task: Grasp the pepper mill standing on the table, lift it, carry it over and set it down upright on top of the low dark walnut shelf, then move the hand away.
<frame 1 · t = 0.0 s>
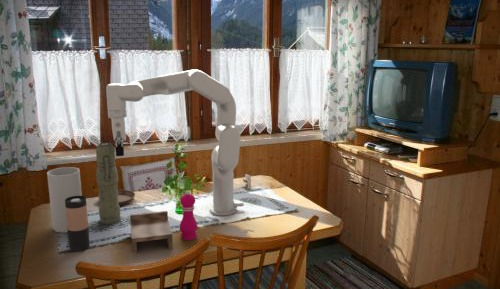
hand: (119, 153, 191), 31 cm above the table, tool pointing down, fingers open, 9 cm apart
walnut shelf: (151, 241, 178), on the table
architectural model: (246, 188, 244), on the table
pepper mill: (188, 237, 183), on the table
travel mug: (79, 248, 173), on the table
plant saucer: (117, 201, 224), on the table
stone totem statue: (110, 220, 199), on the table
cylinder vase: (68, 227, 192), on the table
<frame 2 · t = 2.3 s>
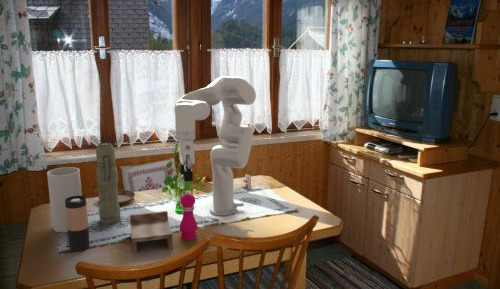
hand: (186, 177, 176), 26 cm above the table, tool pointing down, fingers open, 9 cm apart
nothing on the table moved.
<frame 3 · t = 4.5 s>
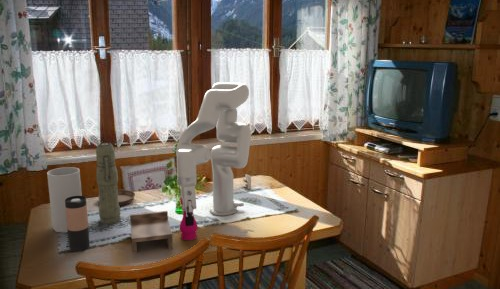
hand: (188, 221, 181), 7 cm above the table, tool pointing down, fingers closed on pepper mill, 5 cm apart
pepper mill: (188, 237, 183), on the table, touching gripper
everything else where it was.
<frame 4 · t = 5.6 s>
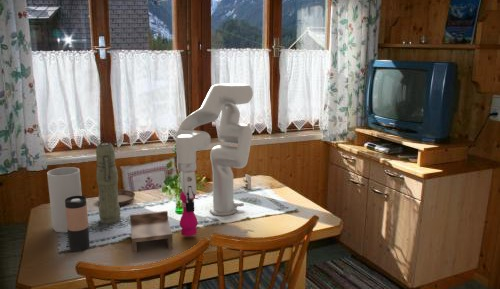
hand: (189, 208, 180), 12 cm above the table, tool pointing down, fingers closed on pepper mill, 5 cm apart
pepper mill: (189, 233, 182), point 1 cm above the table, touching gripper
everything else where it was.
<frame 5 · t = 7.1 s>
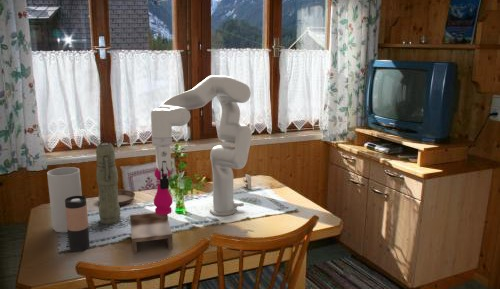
hand: (163, 185, 175), 23 cm above the table, tool pointing down, fingers closed on pepper mill, 5 cm apart
pepper mill: (163, 213, 176), point 12 cm above the table, touching gripper
everything else where it was.
when the fingers open (17 cm above the table, at t = 8.5 s): pepper mill stays where it is, resting on walnut shelf.
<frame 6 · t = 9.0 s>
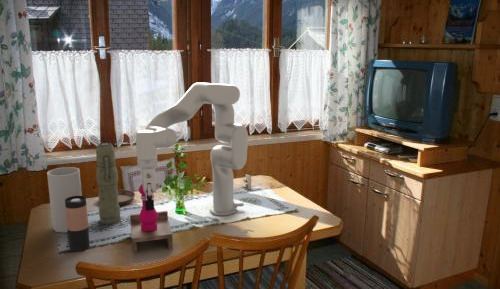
hand: (149, 206, 175), 15 cm above the table, tool pointing down, fingers open, 5 cm apart
pepper mill: (149, 228, 176), point 6 cm above the table, touching gripper, walnut shelf
everything else where it was.
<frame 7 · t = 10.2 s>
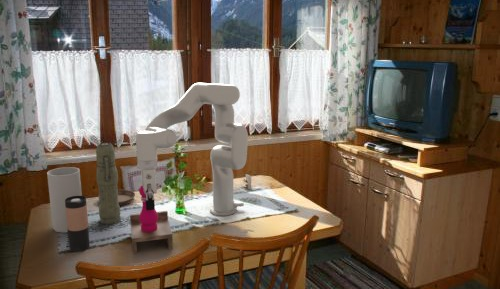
hand: (149, 205, 175), 15 cm above the table, tool pointing down, fingers open, 9 cm apart
pepper mill: (149, 229, 176), point 6 cm above the table, touching walnut shelf
everything else where it was.
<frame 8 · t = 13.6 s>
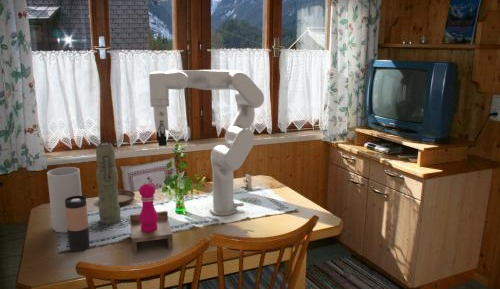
hand: (161, 143, 187), 36 cm above the table, tool pointing down, fingers open, 9 cm apart
nothing on the table moved.
at the end: pepper mill inside the target area on the walnut shelf (1.3 cm from its centre), point 5.8 cm above the walnut shelf's base; pepper mill tilted 0°; the gripper is holding nothing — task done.
